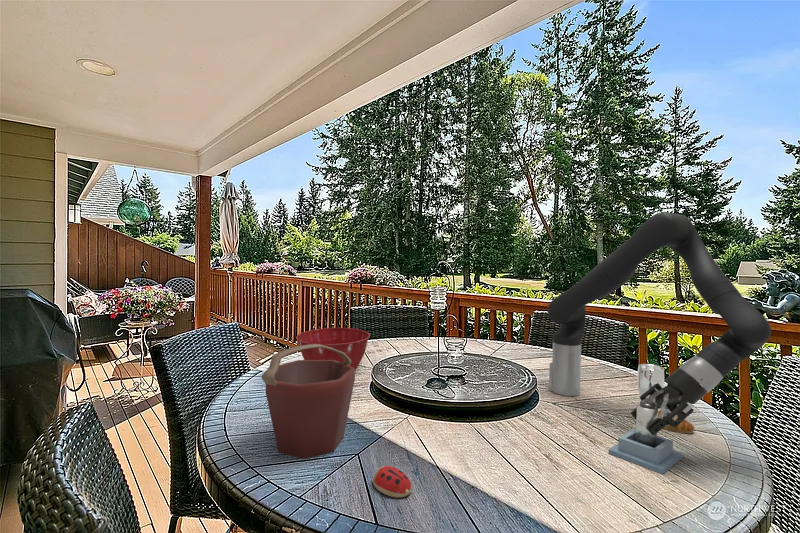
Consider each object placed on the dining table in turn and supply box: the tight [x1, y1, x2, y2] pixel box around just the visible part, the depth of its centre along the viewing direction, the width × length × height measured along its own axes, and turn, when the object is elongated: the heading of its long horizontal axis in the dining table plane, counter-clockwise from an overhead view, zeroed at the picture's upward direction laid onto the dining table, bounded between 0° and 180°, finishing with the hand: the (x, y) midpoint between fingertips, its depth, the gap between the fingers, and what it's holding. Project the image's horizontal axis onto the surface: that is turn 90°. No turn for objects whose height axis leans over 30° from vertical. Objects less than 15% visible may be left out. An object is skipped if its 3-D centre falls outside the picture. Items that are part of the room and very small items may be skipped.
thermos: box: [635, 401, 658, 448], centre depth 103 cm, size 5×5×12 cm
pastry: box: [658, 409, 695, 435], centre depth 119 cm, size 9×7×4 cm
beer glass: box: [636, 363, 665, 411], centre depth 126 cm, size 7×7×15 cm
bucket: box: [261, 344, 356, 460], centre depth 109 cm, size 24×22×25 cm
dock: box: [607, 427, 684, 475], centre depth 103 cm, size 12×12×4 cm
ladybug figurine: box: [372, 465, 413, 498], centre depth 89 cm, size 7×10×4 cm
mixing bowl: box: [295, 327, 371, 371], centre depth 167 cm, size 28×28×16 cm
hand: (641, 424), depth 103 cm, fingers open, 8 cm apart
